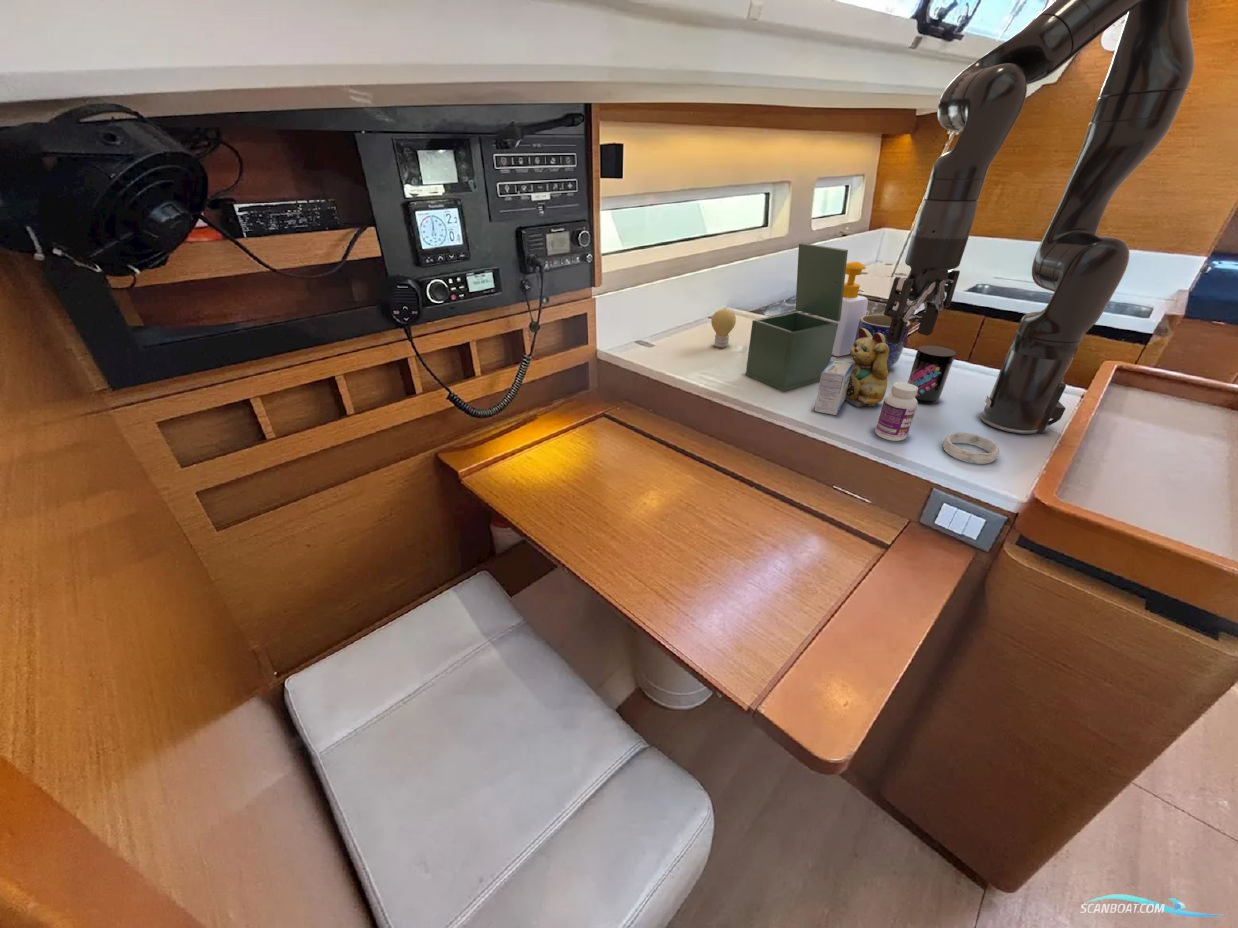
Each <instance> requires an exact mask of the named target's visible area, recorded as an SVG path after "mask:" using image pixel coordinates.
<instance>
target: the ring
mask: <svg viewBox="0 0 1238 928" xmlns="http://www.w3.org/2000/svg"><path fill="white" fill-rule="evenodd" d="M955 443H957V444H966V445H970V446H971V445H972V446H975V447H978V448H981V449H982V450H985V451H987V452H975V451H972V450H967V449H964V448H961V447H959V446H957V445H956V444H955ZM942 445H943V447H942V448H943V449H944V451H945V452H946V453H947V454H948V455H949V456H951V457H952V458H955V459H957V460H960V461H963V462H967V463H970V464H979V465H982V464H983V465H986V464H990V463H992V462H994V461H996V459H997V458H998V457H999V455H1000V448H999V446H998V444H996V443H995V442H994V441H993V440H991V439H989V438H987V437H984V436H981V435H978V434H975V433H969V432H953V433H950V434H949V435H947V436H946V437H944V440H943V444H942Z"/></svg>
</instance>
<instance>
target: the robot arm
mask: <svg viewBox="0 0 1238 928" xmlns="http://www.w3.org/2000/svg"><path fill="white" fill-rule="evenodd" d="M1189 1H1190V0H1054V1H1053V2H1052V3H1050V4H1049V5H1048V6H1047V7H1046V8H1044V9H1043V10H1042V11H1041V12H1040V13H1038V15H1037V16H1036V17H1034V18H1033V19H1032V20H1030V22H1029V23H1027V24H1026V26H1024V27H1023V28H1022V29H1021V30H1019V31H1018V32H1017V33H1016V34H1014V35H1013V36H1011V37H1010V38H1008V39H1007V40H1005V41H1003V42H1002V43H1000V44H999V45H997V46H996V47H994V48H993V49H992V50H990V51H989V52H987V53H986V54H984V55H983V56H981V57H979V58H978V59H977V60H975V61H974V62H972V63H971V64H970V65H968V66H967V67H966V68H964V69H963V70H962V71H961V72H960V73H959V74H957V76H955V77H954V79H952V81H951V82H950V83H949V84H948V86H947V87H946V88H945V89H944V91H943V93H942V95H941V97H940V99H939V101H938V106H937V112H936V113H937V120H938V122H939V124H940V126H941V127H942V128H944V129H945V130H947V131H950V132H955V133H960V135H959V137H958V139H957V141H956V143H955V145H954V147H953V148H952V149H951V150H949V151H948V152H945V153H943V154H941V155H940V156H938V157H937V158H936V160H935V161H934V163H933V166H932V168H931V171H930V175H929V179H928V181H927V186H926V189H925V193H924V197H923V198H924V199H923V200H922V203H921V205H920V208H919V211H918V213H917V216H916V219H915V223H914V226H913V231H912V233H911V237H910V241H909V244H908V249H907V253H906V256H905V260H904V263H905V265H906V266H909V267H910V271H909V273H908V275H907V277H902V276H895V278H894V279H893V282H892V285H891V288H890V292H889V296H888V299H887V302H886V305H885V308H884V312H883V315H885V316H888V317H890V318H891V319H892V321H891V325H890V328H889V332H888V336H887V341H888V342H891V343H895V344H898V343H901V342H902V338H903V335H904V332H905V328H906V325H907V320H908V321H909V318H910V317H911V315H912V313H913V312H914V311H916V310H918V309H919V308H920V307H921V306H922V304H923V306H924V311H923V312H922V315H921V319H920V322H919V324H918V328H917V333H918V334H919V335H923V336H926V337H927V336H931V335H932V334H933V333H934V329H935V326H936V324H937V321H938V318H939V317H938V316H939V314H941V313H942V312H943V311H944V308H946V309H948V308H950V306H951V304H952V300H953V297H954V294H955V290H956V287H957V284H958V280H959V276H960V273H961V272H960V270H957V269H958V268H959V267H960V264H961V263H962V259H963V256H964V253H965V249H966V247H967V243H968V241H969V238H970V234H971V231H972V228H973V225H974V222H975V219H976V215H977V209H978V203H979V200H980V198H981V195H982V191H983V188H984V185H985V183H986V179H987V175H988V171H989V169H990V166H991V165H992V163H993V162H994V160H995V159H996V157H997V155H998V154H999V152H1000V150H1001V149H1002V147H1003V146H1004V145H1003V144H1004V143H1005V141H1006V139H1007V138H1008V136H1009V134H1010V132H1011V131H1012V129H1013V127H1014V125H1015V123H1016V122H1017V120H1018V118H1019V116H1020V114H1021V113H1022V109H1023V108H1024V104H1025V102H1026V98H1027V93H1028V85H1031V84H1035V83H1037V82H1039V81H1042V80H1045V78H1048V77H1049V76H1051V75H1053V74H1054V73H1055V72H1057V71H1058V70H1059V69H1061V68H1062V67H1063V66H1064V65H1065V64H1066V63H1068V62H1069V61H1070V60H1071V59H1073V58H1074V57H1075V56H1076V55H1077V54H1079V53H1080V52H1081V51H1082V50H1083V49H1085V48H1086V47H1088V45H1089V44H1091V43H1092V42H1093V41H1094V40H1095V39H1097V38H1098V37H1099V36H1100V35H1101V34H1103V33H1104V32H1105V31H1107V30H1108V29H1109V28H1110V27H1111V26H1113V25H1114V24H1115V23H1116V22H1118V21H1119V20H1121V19H1122V18H1123V17H1124V16H1126V18H1125V21H1124V23H1123V27H1122V30H1121V32H1120V36H1119V39H1118V42H1117V44H1116V48H1115V50H1114V54H1113V56H1112V60H1111V63H1110V66H1109V68H1108V71H1107V74H1106V76H1105V78H1104V81H1103V84H1102V87H1101V89H1100V91H1099V94H1098V98H1097V99H1096V102H1095V105H1094V107H1093V110H1092V113H1091V116H1090V119H1089V122H1088V125H1087V128H1086V131H1085V134H1084V137H1083V140H1082V143H1081V147H1080V149H1079V152H1078V154H1077V156H1076V157H1077V158H1076V160H1075V163H1074V165H1073V167H1072V171H1071V173H1070V175H1069V178H1068V180H1067V183H1066V185H1065V188H1064V191H1063V194H1062V196H1061V199H1060V200H1059V203H1058V206H1056V207H1057V208H1056V210H1055V212H1054V214H1053V216H1052V218H1051V219H1050V221H1049V225H1048V227H1047V229H1046V230H1045V233H1044V235H1043V237H1042V239H1041V241H1040V243H1039V246H1038V248H1037V250H1036V252H1035V255H1034V258H1033V261H1032V265H1031V277H1032V280H1033V282H1034V283H1035V285H1037V286H1038V287H1040V288H1041V289H1043V290H1044V289H1045V290H1047V291H1051V292H1053V294H1052V296H1051V297H1050V299H1049V302H1048V303H1047V305H1046V307H1044V309H1042V310H1040V311H1031V312H1028V313H1026V314H1024V315H1023V316H1022V317H1021V319H1020V321H1019V324H1018V326H1017V327H1016V328H1017V329H1016V331H1015V333H1014V336H1013V338H1012V341H1011V342H1010V346H1009V349H1008V350H1007V353H1006V356H1005V358H1004V360H1003V363H1002V364H1001V368H1000V370H999V372H998V374H997V377H996V380H995V382H994V385H993V387H992V388H991V389H992V390H991V392H990V395H987V396H986V398H985V400H984V402H985V406H984V408H983V411H982V412H981V415H980V419H981V421H982V422H984V423H985V424H986V425H988V426H990V427H992V428H995V429H998V430H1000V431H1004V432H1008V433H1014V434H1020V435H1021V434H1022V435H1031V434H1036V433H1039V434H1044V432H1045V430H1046V428H1047V426H1048V427H1050V426H1051V425H1053V424H1055V423H1057V422H1059V421H1060V420H1061V419H1062V417H1063V415H1064V413H1065V410H1066V407H1065V405H1063V404H1062V402H1060V400H1061V398H1062V397H1063V394H1064V392H1065V389H1066V388H1067V384H1066V383H1065V382H1064V379H1065V377H1066V375H1067V372H1068V371H1069V368H1070V366H1071V364H1072V362H1073V361H1074V357H1075V356H1076V355H1077V352H1078V350H1079V348H1080V346H1081V344H1082V342H1083V340H1084V338H1085V336H1086V334H1087V333H1088V331H1089V330H1090V329H1092V327H1093V326H1094V325H1095V324H1097V322H1098V321H1099V320H1100V318H1101V316H1102V315H1103V314H1104V311H1105V310H1106V308H1107V306H1108V304H1109V302H1110V301H1111V298H1112V297H1113V295H1114V294H1115V291H1116V290H1117V288H1118V286H1119V285H1120V283H1121V281H1122V279H1123V277H1124V275H1125V273H1126V271H1127V268H1128V265H1129V261H1130V248H1129V245H1128V244H1127V243H1126V241H1124V240H1122V239H1121V238H1117V237H1115V236H1109V235H1103V234H1098V230H1099V227H1100V225H1101V221H1102V219H1103V217H1104V215H1105V212H1106V210H1107V208H1108V206H1109V204H1110V202H1111V200H1112V199H1113V197H1114V196H1115V194H1116V193H1117V191H1118V190H1119V189H1120V187H1121V186H1122V185H1123V184H1124V182H1126V181H1127V180H1128V178H1129V177H1130V176H1131V175H1132V174H1133V173H1134V172H1135V171H1136V170H1137V169H1138V168H1139V167H1140V166H1141V165H1142V164H1143V163H1144V161H1145V160H1146V159H1148V158H1149V156H1150V155H1151V154H1152V153H1153V152H1154V151H1155V149H1156V148H1157V147H1158V146H1159V145H1160V144H1161V142H1162V141H1163V140H1164V139H1165V137H1166V136H1167V134H1168V133H1169V131H1170V130H1171V127H1172V125H1173V123H1174V121H1175V120H1176V116H1178V115H1177V114H1178V112H1179V110H1180V108H1181V105H1182V103H1183V100H1184V98H1185V96H1186V94H1187V91H1188V89H1189V87H1190V84H1191V82H1192V80H1193V76H1194V72H1195V49H1194V48H1195V47H1194V41H1193V37H1192V36H1193V35H1192V30H1191V26H1190V19H1189ZM895 303H896V305H895ZM894 305H895V306H894Z"/></svg>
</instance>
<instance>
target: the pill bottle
mask: <svg viewBox="0 0 1238 928" xmlns="http://www.w3.org/2000/svg"><path fill="white" fill-rule="evenodd" d="M917 391H918V387H916V386H915V385H912V384H909V383H908V382H903V381H902V382H901V381H900V382H894V383H893V384H892V386H891V389H890V392H891V393H888V394H887V395H886V396H884V398H883V401H882V402H883V403H882V406H881V409H880V412H879V416H878V420H877V423H876V426H875V430H874V431H875V434H876V435H877V436H878V437H879V438H882V439H884V440H887V441H893V442H895V441H896V442H899V441H904V440H905V439H906V438H907V437H908V434H909V431H910V429H911V426H912V423H913V420H914V417H915V413H916V410H917V407H918V404H919V403H918V402H917V400H916V398H915V396H916V395H917Z"/></svg>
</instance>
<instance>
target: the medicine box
mask: <svg viewBox="0 0 1238 928" xmlns="http://www.w3.org/2000/svg"><path fill="white" fill-rule="evenodd" d="M852 367H853V364H852V362H849V361H841V360H834V359H833V360H832V359H831V360H830V363H829V364H828V366H827V367H826V368H825V370H824V371H823V372H822V375H821V379H820V381H819V385H818V389H817V395H816V400H815V405H814V411H815V412H817V413H821V414H827V415H831V416H837V415H838V414H839V412H840V411H841V408H842V406H843V405H844V403H845V401H846V400H845V396H846V392H847V388H848V384H849V379H850V375H851V371H852Z"/></svg>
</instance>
